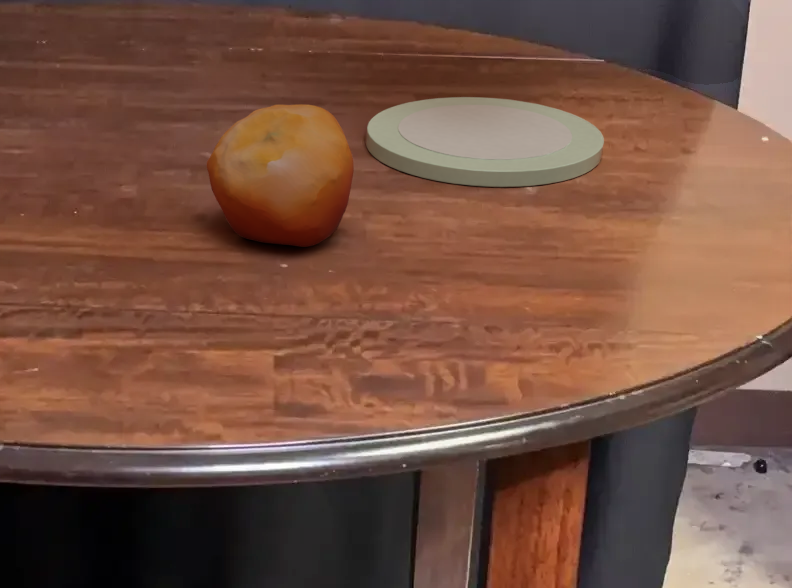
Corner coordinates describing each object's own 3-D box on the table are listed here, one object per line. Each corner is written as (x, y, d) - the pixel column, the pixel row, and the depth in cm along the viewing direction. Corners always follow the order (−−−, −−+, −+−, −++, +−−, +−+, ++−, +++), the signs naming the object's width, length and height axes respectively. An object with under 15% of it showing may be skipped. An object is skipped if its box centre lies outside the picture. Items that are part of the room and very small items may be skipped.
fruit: (389, 190, 87) (370, 88, 81) (333, 298, 85) (308, 201, 78) (265, 166, 91) (236, 66, 84) (208, 269, 89) (173, 174, 82)
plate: (589, 116, 103) (592, 100, 102) (613, 192, 91) (616, 175, 90) (368, 107, 105) (369, 91, 104) (362, 181, 93) (364, 164, 92)
